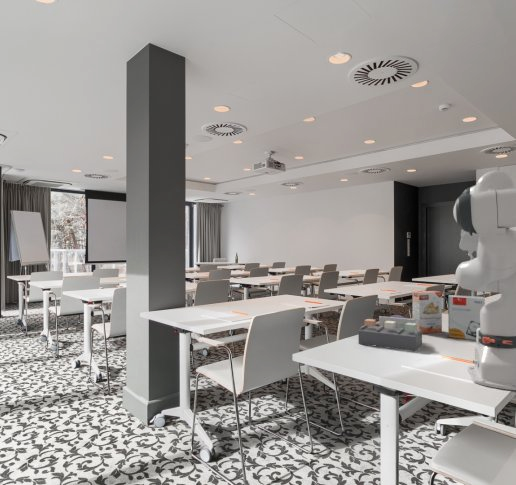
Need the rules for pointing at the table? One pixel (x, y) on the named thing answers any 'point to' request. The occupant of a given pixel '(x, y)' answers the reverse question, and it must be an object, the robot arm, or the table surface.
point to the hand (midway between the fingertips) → (485, 263)
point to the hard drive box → (464, 316)
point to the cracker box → (428, 311)
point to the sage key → (411, 326)
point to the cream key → (390, 324)
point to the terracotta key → (369, 322)
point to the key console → (391, 335)
